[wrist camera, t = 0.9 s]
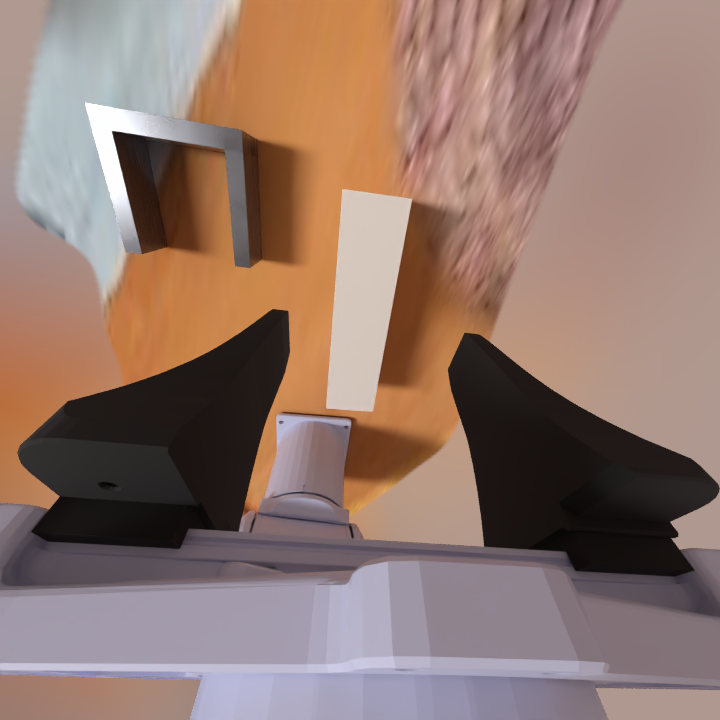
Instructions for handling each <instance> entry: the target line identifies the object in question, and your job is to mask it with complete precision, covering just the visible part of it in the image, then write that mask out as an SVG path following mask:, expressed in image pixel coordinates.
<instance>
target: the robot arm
mask: <svg viewBox="0 0 720 720" xmlns="http://www.w3.org/2000/svg"><path fill="white" fill-rule="evenodd" d="M289 353H290V343H289V314H288V311H284V310H276V309H272V310H271V311H269V312H268V313H267V314H265V315H264V316H263V317H261V318H260V319H259V320H257V321H256V322H255V323H253V324H252V325H250V326H249V327H248V328H246V329H245V330H244V331H242V332H241V333H239V334H238V335H236V336H234V337H233V338H231V339H230V340H228V341H227V342H225V343H223V344H222V345H220V346H218V347H217V348H215V349H213V350H211V351H210V352H208V353H206V354H204V355H202V356H200V357H198V358H196V359H194V360H192V361H189V362H187V363H185V364H182V365H180V366H177V367H175V368H173V369H170V370H168V371H166V372H163V373H161V374H158V375H155V376H152V377H150V378H147V379H144V380H141V381H138V382H135V383H132V384H129V385H125V386H122V387H119V388H116V389H112V390H109V391H105V392H101V393H97V394H94V395H90V396H86V397H82V398H79V399H75V400H71V401H68V402H67V403H66V404H65V405H63V406H62V407H61V408H60V409H59V410H58V411H57V412H56V413H55V414H54V415H53V416H52V417H51V418H49V419H48V420H47V421H46V422H45V423H44V424H43V425H42V426H41V427H40V428H38V429H37V430H36V431H35V432H34V433H33V434H32V435H31V436H30V437H29V438H28V439H27V440H25V441H24V442H23V443H22V444H21V445H20V447H19V450H18V452H17V453H18V456H19V459H20V462H21V464H22V465H23V466H24V467H25V468H26V469H27V470H28V471H29V472H30V473H31V474H32V475H34V476H35V477H36V478H38V479H39V480H40V481H41V482H42V483H44V484H45V485H46V486H47V487H49V488H50V489H51V490H52V491H54V492H55V493H56V494H57V495H59V496H60V497H59V498H58V500H57V501H56V502H55V503H54V504H53V506H52V507H51V508H50V509H49V510H47V509H46V508H42V507H39V506H33V505H25V504H24V505H23V504H8V503H0V675H36V676H38V675H39V676H74V677H111V678H112V677H113V678H147V679H184V680H185V679H186V680H201V683H200V687H199V690H198V693H197V697H196V700H195V704H194V707H193V710H192V714H191V717H190V720H608V718H607V715H606V713H605V710H604V708H603V705H602V703H601V701H600V698H599V696H598V693H597V691H596V689H595V688H639V689H642V688H643V689H647V688H648V689H699V690H720V550H716V549H715V550H714V549H700V548H689V549H682V550H679V548H678V547H677V546H676V544H675V543H674V542H673V540H672V539H671V538H676V537H678V532H677V531H676V530H675V528H674V527H673V526H672V524H671V523H670V522H671V521H673V520H675V519H677V518H679V517H681V516H683V515H686V514H688V513H690V512H692V511H694V510H697V509H699V508H701V507H702V506H704V505H706V504H708V503H710V502H711V501H712V500H713V499H715V498H716V496H717V495H718V493H719V489H720V488H719V485H718V484H717V483H716V482H715V480H714V479H713V478H712V477H711V476H710V475H709V474H708V473H707V472H705V470H704V469H703V468H702V467H701V466H700V465H698V464H697V463H696V462H695V461H693V460H692V459H691V458H688V457H686V456H683V455H681V454H678V453H676V452H674V451H671V450H669V449H666V448H664V447H662V446H659V445H657V444H654V443H652V442H649V441H647V440H645V439H642V438H640V437H638V436H636V435H634V434H632V433H630V432H628V431H626V430H623V429H621V428H619V427H617V426H615V425H613V424H611V423H609V422H607V421H605V420H603V419H601V418H599V417H597V416H596V415H594V414H592V413H590V412H588V411H587V410H584V409H583V408H581V407H579V406H578V405H576V404H574V403H572V402H571V401H569V400H567V399H566V398H564V397H563V396H561V395H560V394H558V393H556V392H555V391H553V390H551V389H550V388H549V387H547V386H546V385H544V384H543V383H542V382H540V381H539V380H537V379H536V378H535V377H533V376H532V375H531V374H529V373H528V372H526V371H525V370H524V369H523V368H521V367H520V366H519V365H517V364H516V363H515V362H514V361H513V360H511V359H510V358H509V357H507V356H506V355H505V354H504V353H503V352H501V351H500V350H499V349H498V348H497V347H495V346H494V345H493V344H491V343H490V342H489V341H488V340H486V339H485V338H484V337H482V336H481V335H479V334H471V333H464V335H463V338H462V340H461V342H460V344H459V346H458V348H457V351H456V353H455V355H454V357H453V359H452V362H451V364H450V366H449V368H448V373H449V380H450V386H451V391H452V394H453V397H454V400H455V403H456V407H457V410H458V413H459V416H460V419H461V422H462V425H463V427H464V431H465V433H466V437H467V440H468V444H469V448H470V453H471V458H472V463H473V468H474V473H475V479H476V485H477V491H478V498H479V505H480V512H481V520H482V529H483V538H484V547H478V546H463V545H446V544H429V543H413V542H397V541H381V540H365V539H364V538H363V536H362V534H361V532H360V530H359V528H358V527H357V525H356V524H354V523H351V524H350V523H349V510H348V509H343V503H344V467H345V461H346V455H347V449H348V442H349V436H350V430H351V420H350V419H348V418H337V417H324V416H312V415H299V414H286V413H280V414H278V415H277V418H276V421H277V454H276V458H275V461H274V465H273V469H272V472H271V476H270V479H269V483H268V486H267V490H266V494H265V497H264V498H263V499H262V500H261V503H260V507H259V510H258V514H257V516H256V511H249V512H248V513H247V514H246V515H244V516H243V517H242V514H243V509H244V505H245V500H246V496H247V492H248V488H249V483H250V479H251V475H252V471H253V467H254V463H255V459H256V455H257V451H258V447H259V444H260V440H261V436H262V433H263V429H264V426H265V423H266V420H267V417H268V414H269V412H270V409H271V407H272V404H273V402H274V399H275V396H276V394H277V391H278V389H279V386H280V384H281V381H282V379H283V376H284V373H285V370H286V366H287V362H288V357H289ZM281 421H283V422H281ZM346 426H347V427H346Z"/></svg>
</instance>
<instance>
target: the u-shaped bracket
mask: <svg viewBox="0 0 720 720" xmlns="http://www.w3.org/2000/svg"><path fill="white" fill-rule="evenodd" d="M85 105H86V109H87V112H88V116H89V120H90V123H91V127H92V130H93V134H94V138H95V141H96V145H97V149H98V152H99V156H100V160H101V163H102V167H103V171H104V174H105V178H106V182H107V185H108V189H109V193H110V196H111V200H112V204H113V207H114V211H115V214H116V218H117V222H118V225H119V229H120V233H121V236H122V240H123V244H124V247H125V251H126V252H129V253H137V254H144V253H148V252H151V251H155V250H158V249H162V248H166V247H167V243H166V238H165V233H164V228H163V223H162V218H161V213H160V208H159V203H158V198H157V193H156V188H155V184H154V179H153V174H152V169H151V164H150V159H149V154H148V149H147V144H146V140H150V141H156V142H162V143H168V144H174V145H180V146H186V147H192V148H198V149H204V150H210V151H216V152H222V153H225V157H226V168H227V179H228V191H229V202H230V214H231V225H232V236H233V248H234V259H235V266H239V267H247V268H251V267H252V266H253V265H255V264H256V263H258V262H259V261H260V260H262V252H261V228H260V203H259V179H258V154H257V139H255V138H254V137H252V136H250V135H249V134H247V133H245V132H244V131H242V130H238V129H232V128H227V127H221V126H215V125H209V124H204V123H198V122H192V121H187V120H181V119H175V118H169V117H164V116H158V115H152V114H146V113H141V112H135V111H129V110H124V109H118V108H112V107H106V106H101V105H95V104H89V103H85Z"/></svg>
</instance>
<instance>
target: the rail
mask: <svg viewBox="0 0 720 720" xmlns="http://www.w3.org/2000/svg"><path fill="white" fill-rule="evenodd" d="M411 203H412V199H409V198H402V197H395V196H388V195H381V194H374V193H367V192H360V191H353V190H346V189H343V190H342V203H341V217H340V230H339V243H338V257H337V270H336V283H335V297H334V310H333V323H332V337H331V350H330V363H329V377H328V390H327V403H326V408H327V409H342V410H356V411H371V412H373V407H374V401H375V396H376V391H377V385H378V380H379V374H380V369H381V364H382V358H383V353H384V348H385V342H386V337H387V332H388V326H389V321H390V315H391V310H392V305H393V299H394V294H395V289H396V283H397V278H398V273H399V267H400V262H401V256H402V251H403V246H404V240H405V235H406V230H407V224H408V219H409V213H410V208H411Z"/></svg>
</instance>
